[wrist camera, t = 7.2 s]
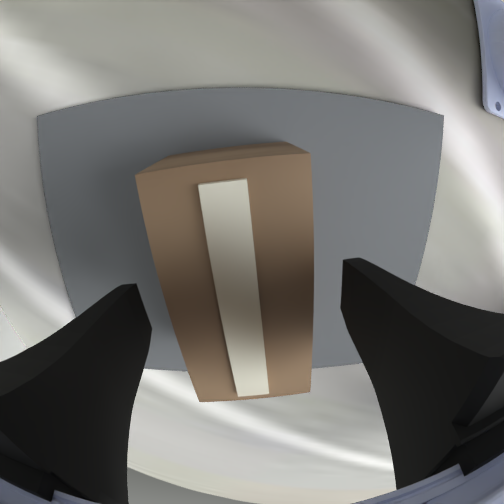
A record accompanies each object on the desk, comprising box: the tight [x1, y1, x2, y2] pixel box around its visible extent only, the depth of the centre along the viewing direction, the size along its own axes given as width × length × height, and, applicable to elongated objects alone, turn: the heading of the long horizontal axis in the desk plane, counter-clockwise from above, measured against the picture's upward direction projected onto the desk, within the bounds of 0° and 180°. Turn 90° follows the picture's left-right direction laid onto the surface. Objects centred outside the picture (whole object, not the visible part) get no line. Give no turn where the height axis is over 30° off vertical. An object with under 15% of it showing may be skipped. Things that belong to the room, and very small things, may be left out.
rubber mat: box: [37, 88, 444, 371], centre depth 13 cm, size 18×14×1 cm
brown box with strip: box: [135, 142, 314, 402], centre depth 11 cm, size 9×4×4 cm, turn 6°
